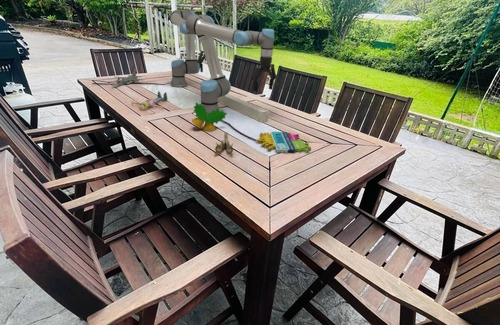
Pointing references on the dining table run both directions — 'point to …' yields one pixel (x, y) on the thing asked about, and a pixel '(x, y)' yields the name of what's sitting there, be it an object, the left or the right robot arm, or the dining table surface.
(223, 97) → the post
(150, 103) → the toy
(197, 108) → the ornament
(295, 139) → the sign
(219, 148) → the jawbone
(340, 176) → the dining table surface
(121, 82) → the airplane
